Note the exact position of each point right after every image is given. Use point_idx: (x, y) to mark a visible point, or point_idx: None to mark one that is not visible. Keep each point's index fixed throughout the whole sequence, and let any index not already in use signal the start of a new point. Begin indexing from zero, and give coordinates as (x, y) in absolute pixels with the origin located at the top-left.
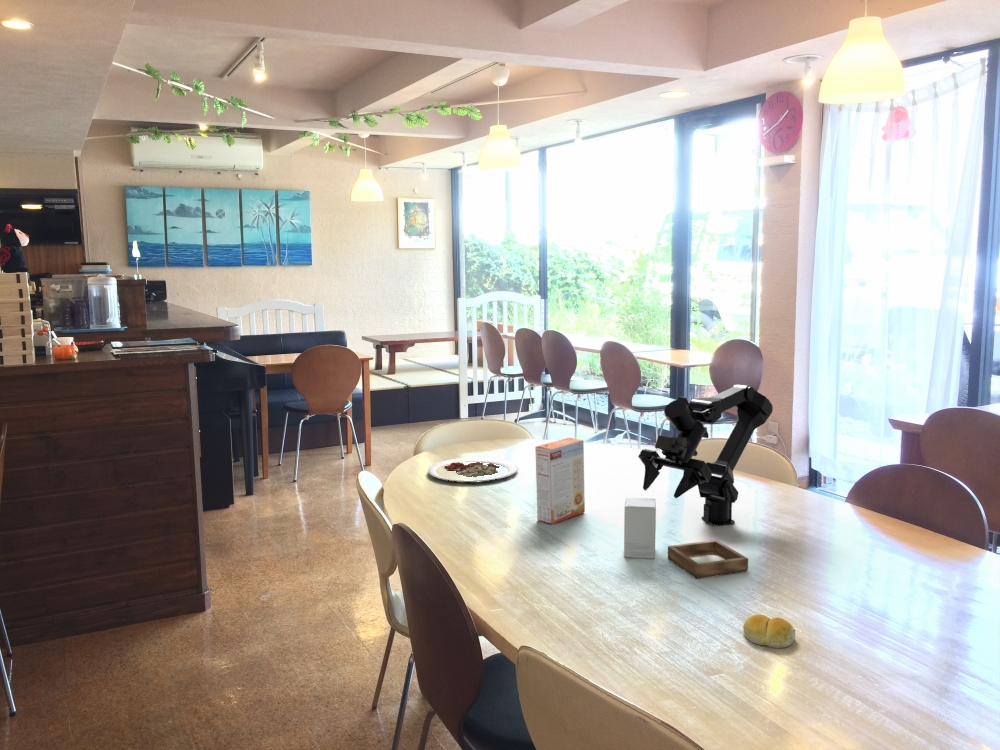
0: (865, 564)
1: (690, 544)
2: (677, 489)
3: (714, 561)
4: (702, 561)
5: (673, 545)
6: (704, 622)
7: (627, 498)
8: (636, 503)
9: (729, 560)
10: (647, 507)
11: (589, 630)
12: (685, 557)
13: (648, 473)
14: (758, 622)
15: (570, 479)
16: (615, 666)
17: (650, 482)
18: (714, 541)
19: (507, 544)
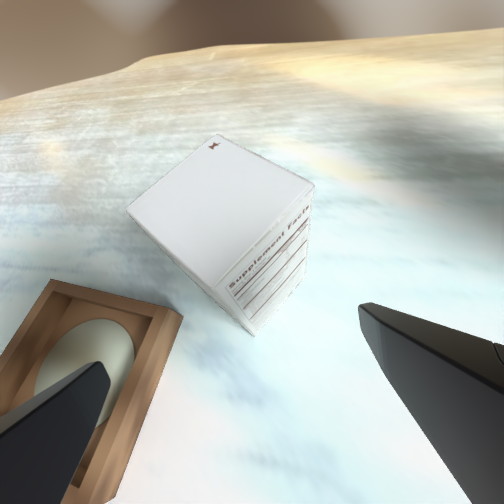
0: None
1: (129, 377)
2: (45, 395)
3: (24, 334)
4: (93, 360)
5: (161, 325)
6: (8, 200)
7: (299, 183)
8: (209, 173)
9: None
10: (150, 189)
11: (109, 103)
12: (92, 291)
13: (475, 370)
14: None
15: None
16: (53, 100)
17: (416, 402)
18: (81, 486)
19: (433, 99)
